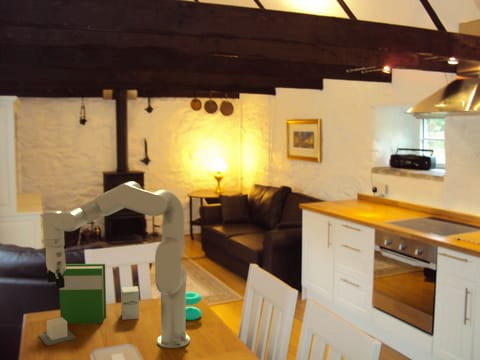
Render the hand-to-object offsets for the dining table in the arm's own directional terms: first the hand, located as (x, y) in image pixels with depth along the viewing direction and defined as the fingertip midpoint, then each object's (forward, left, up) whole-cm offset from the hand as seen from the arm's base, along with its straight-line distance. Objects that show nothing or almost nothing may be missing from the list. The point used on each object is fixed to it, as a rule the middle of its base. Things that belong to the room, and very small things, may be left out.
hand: (56, 284), depth 197 cm
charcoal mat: (0, 0, -22) cm, 22 cm away
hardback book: (+11, -15, -22) cm, 29 cm away
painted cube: (0, 0, -21) cm, 21 cm away
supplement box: (+3, -33, -22) cm, 40 cm away
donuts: (-13, -54, -22) cm, 59 cm away
